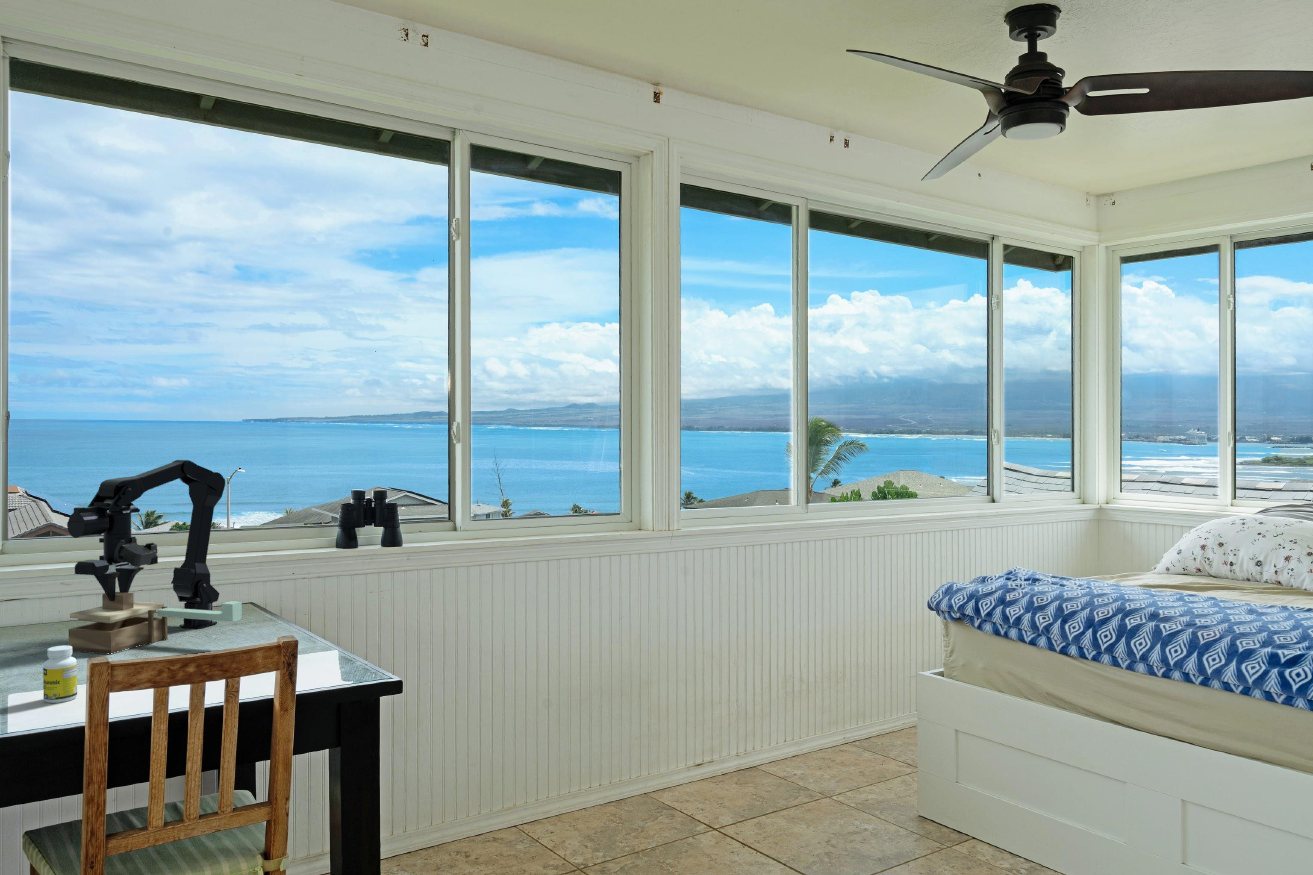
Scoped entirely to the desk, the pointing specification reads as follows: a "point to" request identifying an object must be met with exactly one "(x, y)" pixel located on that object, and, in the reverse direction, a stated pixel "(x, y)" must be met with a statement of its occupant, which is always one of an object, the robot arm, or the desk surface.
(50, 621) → the desk surface
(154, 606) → the lid
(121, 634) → the box
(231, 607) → the key
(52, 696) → the supplement bottle
